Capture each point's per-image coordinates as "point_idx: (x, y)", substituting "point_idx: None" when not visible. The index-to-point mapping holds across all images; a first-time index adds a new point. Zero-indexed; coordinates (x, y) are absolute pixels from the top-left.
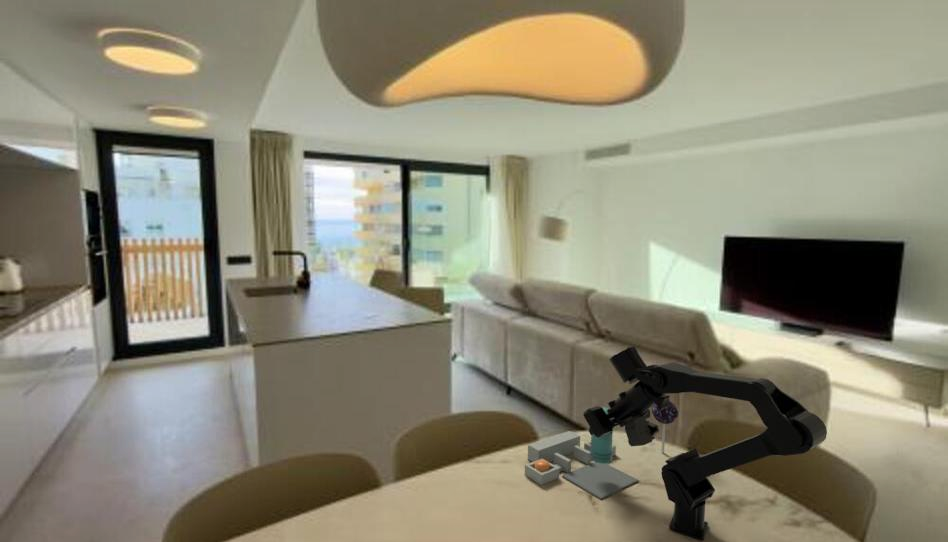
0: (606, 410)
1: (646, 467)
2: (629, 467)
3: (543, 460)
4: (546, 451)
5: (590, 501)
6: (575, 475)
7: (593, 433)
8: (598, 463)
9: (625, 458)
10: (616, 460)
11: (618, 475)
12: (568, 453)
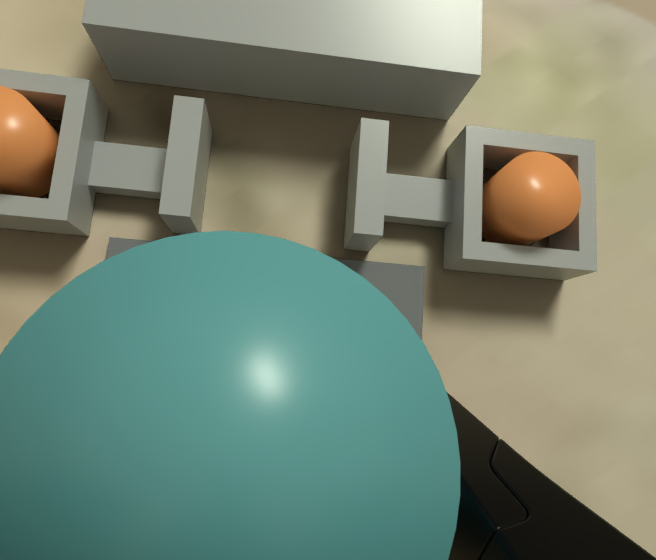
0: (315, 516)
1: (584, 478)
2: (505, 416)
3: (25, 113)
4: (163, 48)
5: None
6: None
7: None
8: (388, 288)
9: (573, 341)
10: (513, 322)
11: None
12: (356, 107)
